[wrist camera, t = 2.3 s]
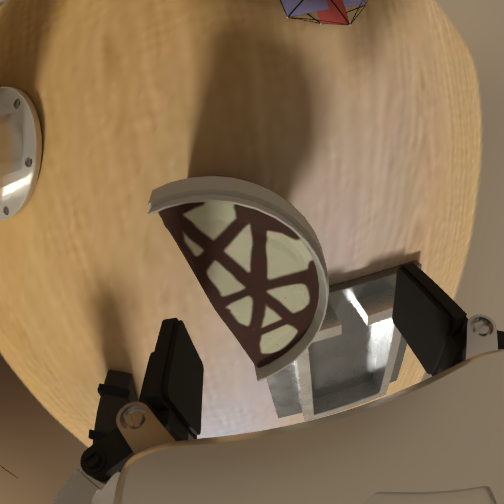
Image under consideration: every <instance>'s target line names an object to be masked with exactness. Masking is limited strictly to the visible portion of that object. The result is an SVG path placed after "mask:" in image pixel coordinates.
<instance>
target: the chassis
mask: <svg viewBox="0 0 504 504" xmlns="http://www.w3.org/2000/svg"><path fill="white" fill-rule="evenodd" d="M412 263H414V264H415V265H416V266H417V267H418V268H420V269H421V266H422V265H421V264H420V263H419V262H418V261H417V260H416V261H413V262H412ZM400 266H401V265H400ZM400 266H397V267H394V268H391V269H388V270H384V271H381V272H378V273H374V274H371V275H368V276H364V277H361V278H357V279H354V280H350V281H347V282H343V283H340V284H336V285H333V286H329V295H328V302H327V308H326V314H325V317H324V320H323V323H322V326H321V328H320V330H319V332H318V334H317V335H316V337H315V339H314V341H313V342H312V343H311V344H310V346H309V347H308V348H307V349H306V351H305V352H304V353H303V354H302V355H301V356H300V357H299V358H297V359H296V360H295V361H294V362H293V363H291V364H290V365H289V366H287V367H286V368H284V369H283V370H281V371H279V372H277V373H276V374H274V375H272V376H270V377H267V382H268V385H269V389H270V392H271V395H272V399H273V402H274V405H275V408H276V412H277V415H278V418H281V417H286V416H290V415H294V414H298V413H302V412H303V416H304V419H305V421H309V420H312V419H316V418H320V417H323V416H326V415H330V414H333V413H336V412H339V411H342V410H345V409H348V408H351V407H354V406H357V405H360V404H362V403H365V402H368V401H370V400H373V399H376V398H378V397H381V396H383V395H385V394H386V392H387V389H388V386H389V383H391V382H393V381H396V380H397V377H398V374H399V371H400V367H401V364H402V360H403V357H404V353H405V349H406V345H407V342H406V340H405V339H404V338H403V336H402V335H401V333H400V332H399V330H398V329H397V328H396V326H395V325H394V323H393V320H392V313H393V305H394V296H395V286H396V274H397V270H398V269H399V268H400Z"/></svg>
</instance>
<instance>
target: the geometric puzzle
mask: <svg viewBox="0 0 504 504" xmlns="http://www.w3.org/2000/svg"><path fill="white" fill-rule="evenodd" d="M280 1H281V4H282V6H283V8H284V11H285V13H286V15H287V17H286V18H292V19H296V18H293V16H297V15H302V14H308V13H312V12H317V14H318V17H319V20H318V21H317V20H316V19H315V18H313V17H312V16H310V15H309V14H308V15H309V16H310V17H312V18H313V19H309V20H316V21H317V22H319V21H320V22H319V24H320V25H322V24H338V25H349V26H351V24H352V22H351V24H350V23H349V20H348V16H347V12H346V10H345V7H352V6H359V7H358V8H355V9H359V8H360V6H361V7H363V6H364V7H365V6H367V4H366V3H367V2H366V3H365V0H280ZM362 5H363V6H362ZM355 9H353V10H355ZM362 10H363V9H362ZM362 10H361V11H362ZM350 11H352V10H350ZM350 11H348V12H350ZM357 11H358V10H357ZM361 11H360V12H361ZM356 13H357V12H356ZM355 15H356V14H355ZM358 15H359V14H358ZM358 15H357V16H358ZM357 16H356V17H357ZM354 17H355V16H354ZM298 19H299V20H301V19H305V18H298ZM353 19H354V18H353ZM354 20H355V19H354ZM354 20H352V21H354ZM304 21H307V20H304ZM310 22H312V21H310ZM317 22H315V23H317Z"/></svg>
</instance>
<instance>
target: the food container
mask: <svg viewBox="0 0 504 504" xmlns="http://www.w3.org/2000/svg"><path fill="white" fill-rule="evenodd" d="M148 205H149V206H150V208H151V209H150V211H149V212H148V216H149V215H151V214H154V213H156V212H158V213H159V215H160V217H161V218H162V220H163V222H164V225H165V227H166V228H167V229H168V230H169V232H170V233H171V235H172V236H173V238H174V239H175V241H176V243H177V245H178V246H179V248H180V250H181V251H182V253H183V255H184V257H185V258H186V260H187V262H188V264H189V265H190V267H191V269H192V270H193V272H194V274H195V276H196V277H197V279H198V281H199V283H200V284H201V286H202V288H203V290H204V292H205V293H206V295H207V297H208V299H209V300H210V302H211V304H212V305H213V307H214V309H215V310H216V312H217V313H218V315H219V316H220V317H221V319H222V320H223V321H224V323H225V324H226V325H227V326H228V328H229V329H230V330H231V332H232V333H233V334H234V336H235V337H236V338H237V340H238V341H239V343H240V344H241V346H242V347H243V349H244V350H245V351H246V353H247V354H248V356H249V357H250V359H251V360H252V361H253V363H254V365H255V370H256V375H257V380H258V381H260V380H262V379H265V378H267V377H270V376H272V375H274V374H276V373H277V372H279V371H281V370H283V369H284V368H286V367H287V366H289V365H290V364H291V363H293V362H294V361H295V360H296V359H297V358H299V357H300V356H301V355H302V354H303V353H304V352H305V351H306V349H307V348H308V347H309V346H310V344H311V343H312V342H313V341H314V339H315V337H316V335H317V334H318V332H319V330H320V328H321V326H322V323H323V320H324V317H325V314H326V308H327V302H328V295H329V277H328V273H327V268H326V263H325V259H324V255H323V252H322V248H321V245H320V243H319V241H318V238H317V236H316V234H315V232H314V230H313V229H312V227H311V226H310V224H309V223H308V221H307V220H306V219H305V217H304V216H303V215H302V214H301V213H300V212H299V211H298V210H297V209H296V208H295V207H294V206H293V205H292V204H291V203H289V202H288V201H286V200H285V199H284V198H282V197H281V196H279V195H278V194H276V193H275V192H273V191H271V190H269V189H266V188H264V187H262V186H260V185H258V184H255V183H252V182H248V181H244V180H240V179H237V178H232V177H227V176H204V177H191V178H187V179H183V180H179V181H175V182H171V183H168V184H166V185H163V186H161V187H159V188H157V189H154V190H153V191H152V194H151V197H150V200H149V203H148Z"/></svg>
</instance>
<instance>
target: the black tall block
mask: <svg viewBox="0 0 504 504" xmlns="http://www.w3.org/2000/svg"><path fill="white" fill-rule="evenodd" d="M98 393H99V394H100V396H101V398H100V402H99V406H98V411H97V416H96V422H95V429H94V430H89V438H90V439H93V444H95V443H96V442H97V441H99V440H100V439H102V438H103V437H104V436H106V435H107V434H108V433H110V432H111V431H112V430H114V429H115V428H116V427H118V426H117V423H116V417H117V414H118V412H119V411H120V409H121V408H122V407H124V406H125V405H127V404H129V403H131V402H137V398H136V394H135V390H134V385H133V381H132V377H131V374H128V373H122V372H117V371H112V370H109V371H108V373H107V376H106V379H105V383H104V384H99V387H98Z"/></svg>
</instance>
